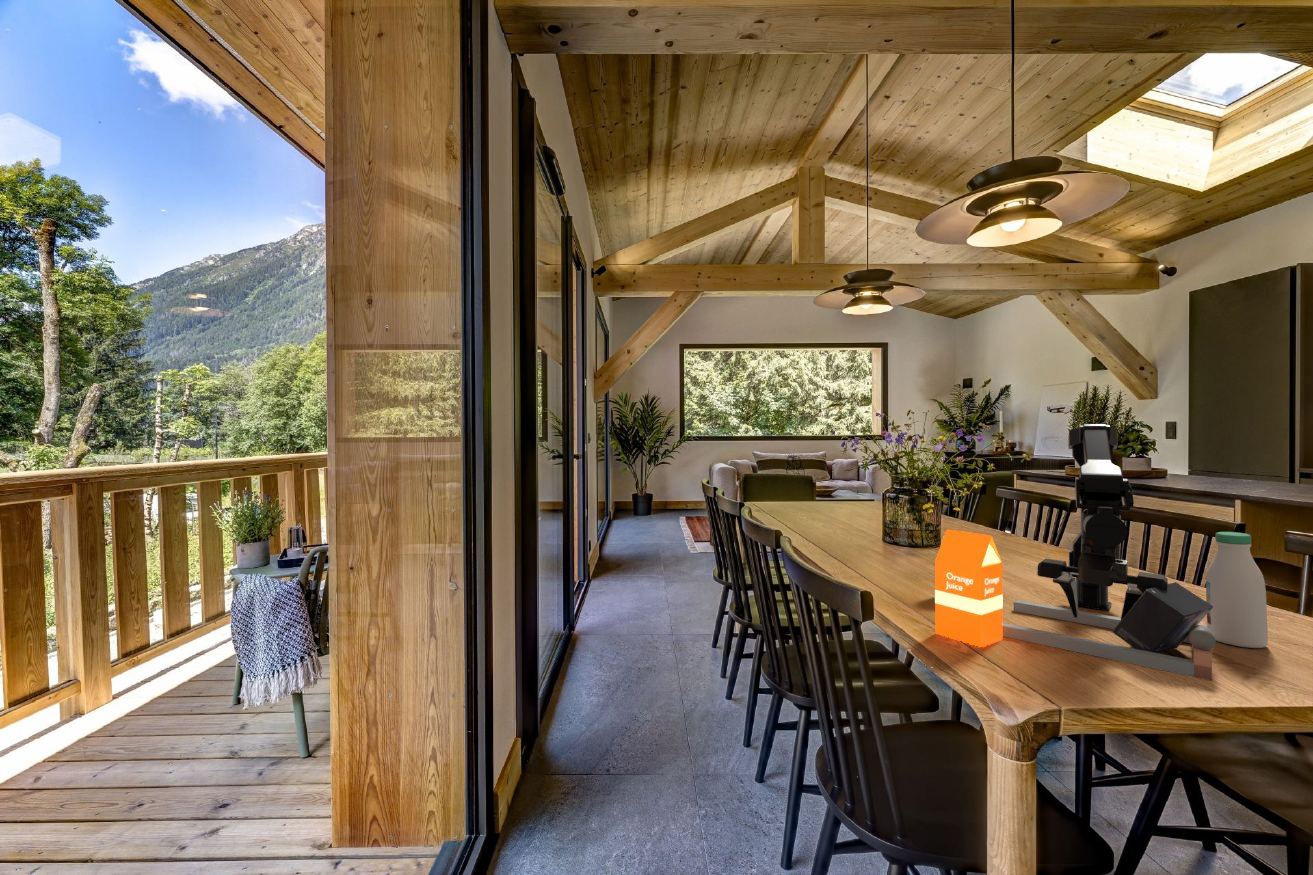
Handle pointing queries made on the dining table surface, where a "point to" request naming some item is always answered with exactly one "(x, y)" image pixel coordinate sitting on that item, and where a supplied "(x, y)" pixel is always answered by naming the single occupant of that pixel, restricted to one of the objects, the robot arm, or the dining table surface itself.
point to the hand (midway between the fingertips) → (1098, 621)
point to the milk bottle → (1236, 593)
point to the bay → (1197, 637)
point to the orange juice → (968, 589)
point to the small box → (1162, 618)
